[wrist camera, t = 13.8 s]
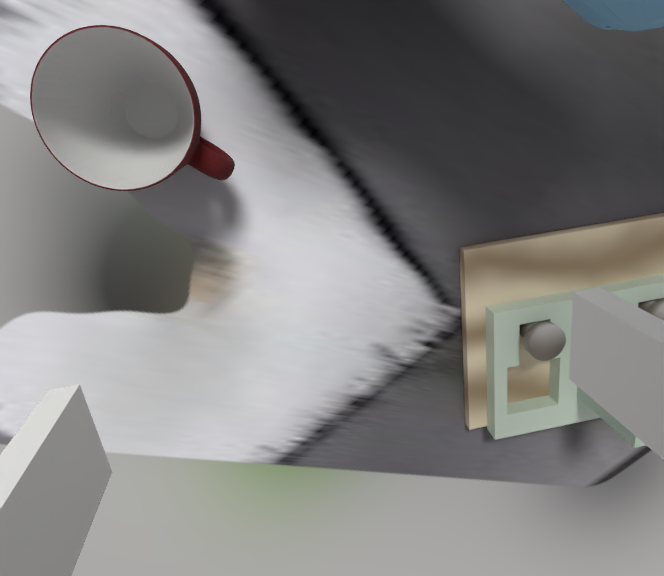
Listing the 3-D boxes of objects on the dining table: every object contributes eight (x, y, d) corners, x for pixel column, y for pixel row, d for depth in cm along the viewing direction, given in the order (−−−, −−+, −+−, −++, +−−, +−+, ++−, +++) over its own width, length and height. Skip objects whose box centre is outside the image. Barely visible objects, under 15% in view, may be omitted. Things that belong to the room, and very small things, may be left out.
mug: (262, 101, 35) (265, 99, 26) (218, 203, 37) (206, 234, 28) (114, 24, 32) (57, -11, 23) (75, 138, 34) (8, 149, 25)
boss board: (459, 247, 41) (482, 263, 37) (696, 207, 43) (745, 217, 39) (465, 423, 48) (486, 454, 43) (671, 381, 50) (710, 406, 45)
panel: (485, 306, 42) (542, 354, 34) (679, 271, 44) (778, 308, 36) (487, 429, 47) (537, 498, 39) (662, 393, 49) (746, 451, 40)
